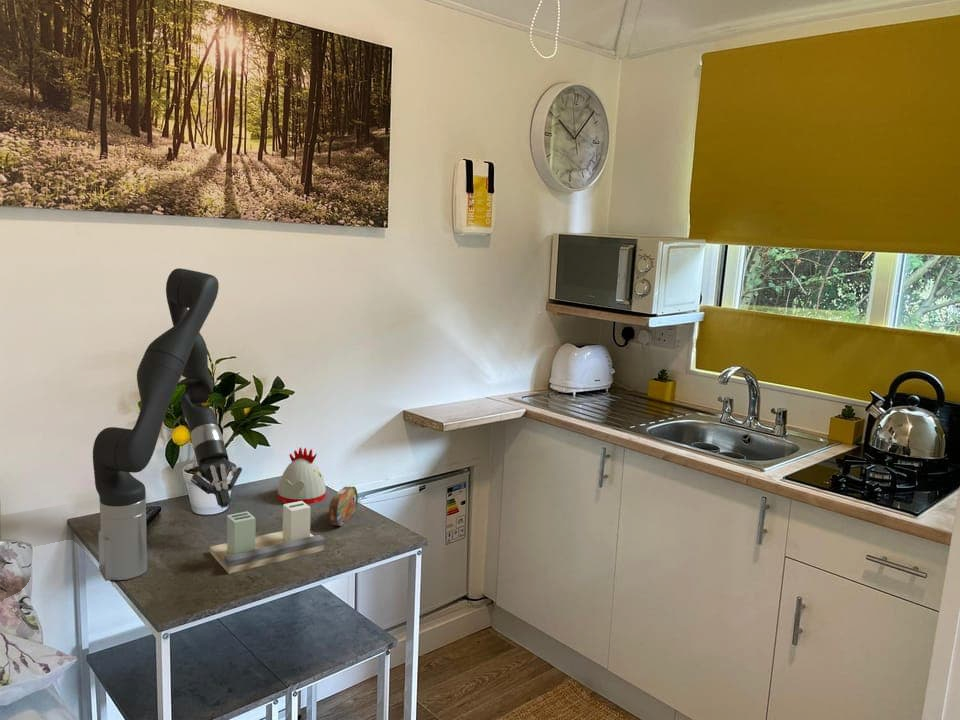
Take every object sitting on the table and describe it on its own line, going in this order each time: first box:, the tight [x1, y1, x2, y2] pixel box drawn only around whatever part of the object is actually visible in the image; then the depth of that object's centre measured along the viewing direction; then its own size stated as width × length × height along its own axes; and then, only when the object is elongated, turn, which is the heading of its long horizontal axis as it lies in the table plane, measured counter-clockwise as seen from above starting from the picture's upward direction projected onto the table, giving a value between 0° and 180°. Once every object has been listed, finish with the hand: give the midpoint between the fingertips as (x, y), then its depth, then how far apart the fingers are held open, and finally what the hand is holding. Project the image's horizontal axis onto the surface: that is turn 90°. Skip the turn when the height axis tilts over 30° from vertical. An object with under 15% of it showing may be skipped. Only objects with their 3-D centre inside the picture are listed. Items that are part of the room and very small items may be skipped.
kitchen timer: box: [277, 446, 327, 505], centre depth 215 cm, size 14×14×15 cm
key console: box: [209, 530, 326, 575], centre depth 178 cm, size 24×13×3 cm, turn 128°
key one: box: [282, 501, 311, 542], centre depth 181 cm, size 5×5×9 cm
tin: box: [328, 486, 359, 527], centre depth 200 cm, size 15×3×8 cm, turn 168°
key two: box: [226, 510, 257, 555], centre depth 173 cm, size 5×5×9 cm
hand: (225, 505), depth 180 cm, fingers closed
